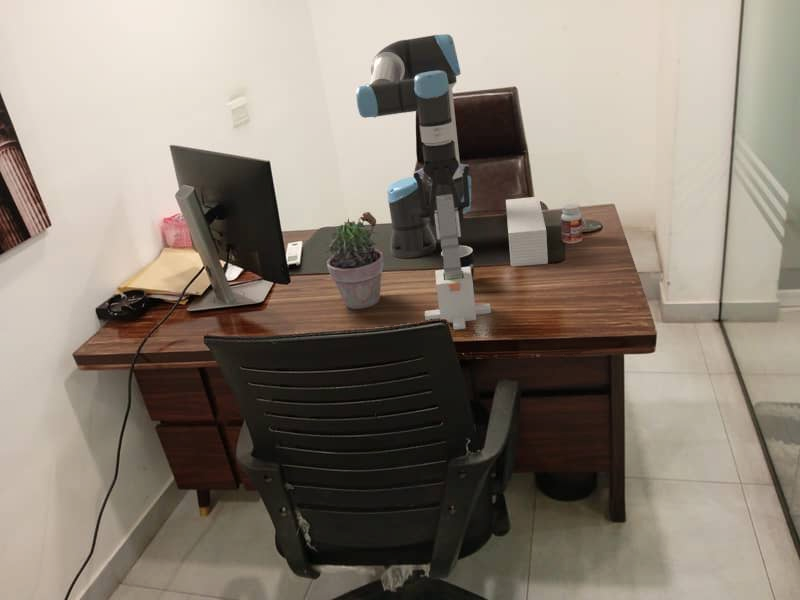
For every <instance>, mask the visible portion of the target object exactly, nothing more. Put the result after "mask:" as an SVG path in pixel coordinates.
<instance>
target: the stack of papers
mask: <svg viewBox="0 0 800 600" xmlns="http://www.w3.org/2000/svg"><path fill="white" fill-rule="evenodd" d="M505 206H506V207H505V209H506V218H507V219H506V220H507V231H508V234H507V235H508V247H509V257H510V267H511V266H512V267H521V266H522V267H523V266H534V265H547V264H549V261H548V260H549V258H548V257H549V256H548V243H547V242H548V241H547V240H548V239H547V237H548V236H547V228H546V224H545V219H544V214H543V210H542V206H541V202H540V197H539V196H531V197H522V198H512V199H511V198H509V199H505Z"/></svg>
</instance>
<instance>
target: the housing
mask: <svg viewBox="0 0 800 600" xmlns="http://www.w3.org/2000/svg"><path fill="white" fill-rule="evenodd" d="M461 269H462V270H461V271H462V278H460V279H452V280H445V272H444V269H438V270H437V269H436V270H435V271H434V273H435V285H436V294H437V302H438V309H431V310H430V309H429V310H424V317H425V318H424V320H425V321H429V320H431V319H432V320H441V319H446V320H448V322H449V323H448V324H451V323H452V325H453V326H452V327H453V330H456V331H457V330H464V329H467V328H466V322H469V321H477V315H483V314H489V313H490V314H492V307H491V304H490V303H483V304H476V301H475V293H474V283H473V281H474V279H473V280H472V275H471V269H470V266H469V267H461Z"/></svg>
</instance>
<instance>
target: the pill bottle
mask: <svg viewBox="0 0 800 600" xmlns="http://www.w3.org/2000/svg"><path fill="white" fill-rule="evenodd" d="M561 208H562V211H561V212H562V214H560V224H561V225H560V227H561V228H560V229H561V241H562V242H563V243H565V244H569V245H570V244H578V243H579V242H581V241H582V240H583V224H582V223H583V222H582V220H583V219H582V218H583V216H582V213H581V212H580V211H581V210H580V209H581V208H580V204H578V203H576V202H575V203H572V202H570V203H566V204H563V205H562V206H561Z"/></svg>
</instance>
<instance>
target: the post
mask: <svg viewBox="0 0 800 600" xmlns="http://www.w3.org/2000/svg"><path fill="white" fill-rule="evenodd" d="M436 202H437V210H438V222H439V230H440V239H439V240H440V247H441V250H442V251H441V252H443V260H444V269H443V270H444V272H445V280H452V279H460V278H462V271H461V270H462V269H461V262H460V257H459V246H460V244H459V243H460V242H459V237H458V234H457V226H456V217H455V211H454V202H453V195H452V194H450V195H442V196H436Z"/></svg>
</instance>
